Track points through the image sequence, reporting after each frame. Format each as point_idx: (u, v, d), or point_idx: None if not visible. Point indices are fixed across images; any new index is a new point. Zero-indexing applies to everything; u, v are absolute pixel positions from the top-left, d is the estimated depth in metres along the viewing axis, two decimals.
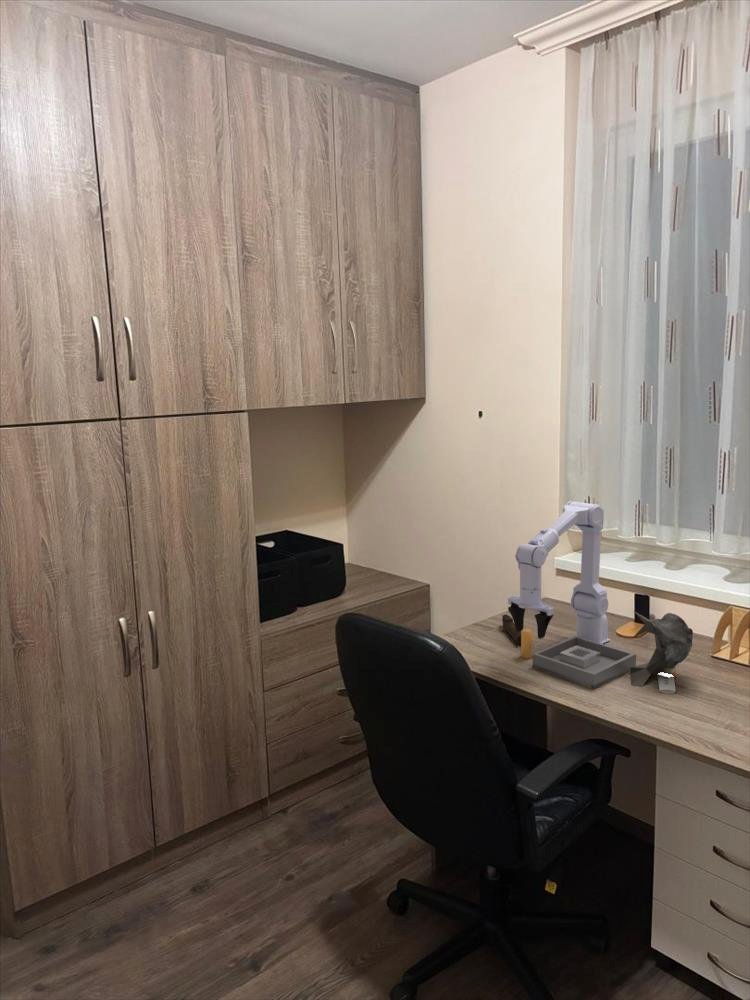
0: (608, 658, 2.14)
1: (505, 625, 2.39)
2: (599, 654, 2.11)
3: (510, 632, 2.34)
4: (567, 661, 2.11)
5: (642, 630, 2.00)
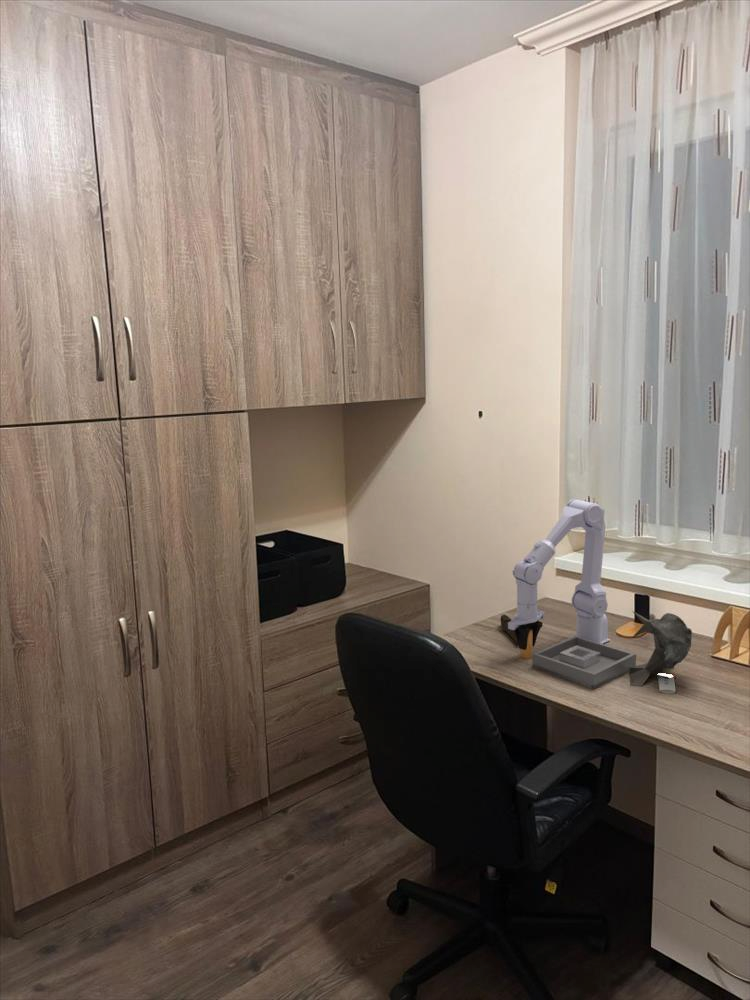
0: (608, 658, 2.14)
1: (504, 625, 2.39)
2: (599, 654, 2.11)
3: (509, 632, 2.34)
4: (567, 661, 2.11)
5: (641, 630, 2.00)
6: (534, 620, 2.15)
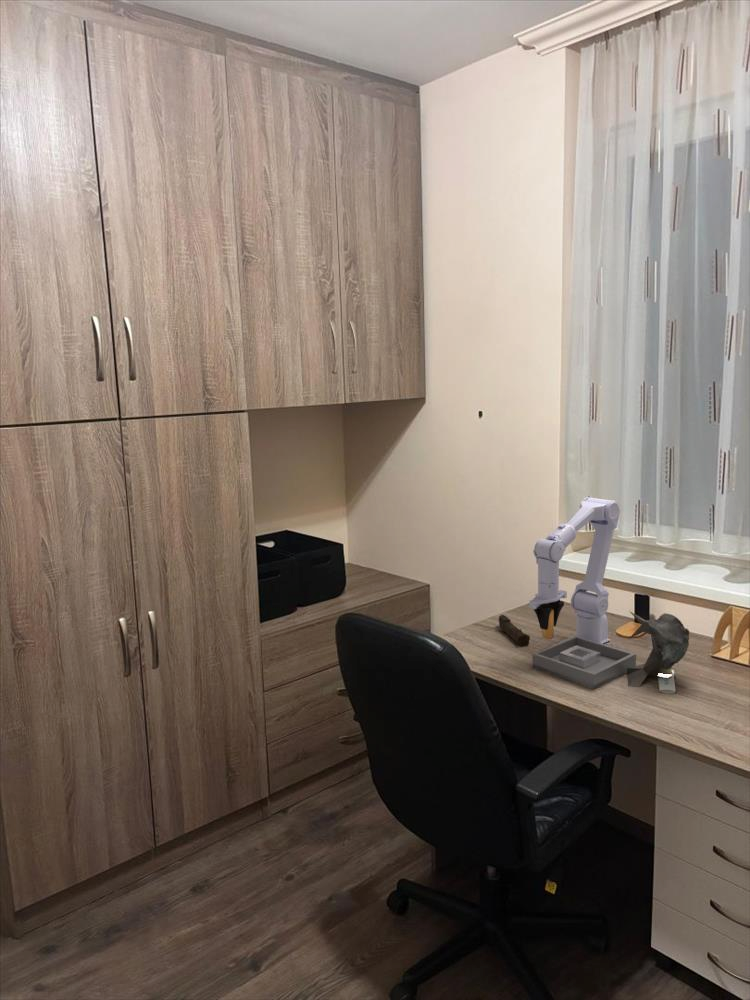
0: (608, 658, 2.14)
1: (503, 625, 2.39)
2: (599, 654, 2.11)
3: (509, 632, 2.34)
4: (567, 661, 2.11)
5: (638, 631, 2.00)
6: (556, 599, 2.11)
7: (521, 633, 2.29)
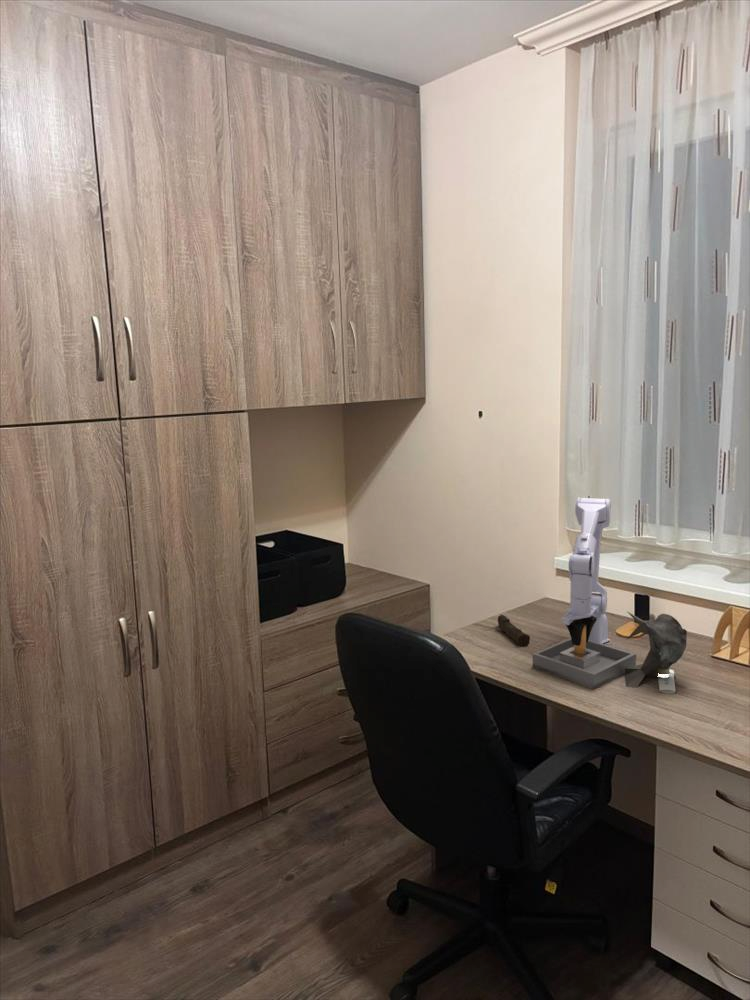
0: (608, 658, 2.14)
1: (502, 625, 2.39)
2: (599, 654, 2.11)
3: (509, 632, 2.34)
4: (567, 661, 2.11)
5: (636, 631, 2.00)
6: (589, 615, 2.07)
7: (521, 633, 2.29)
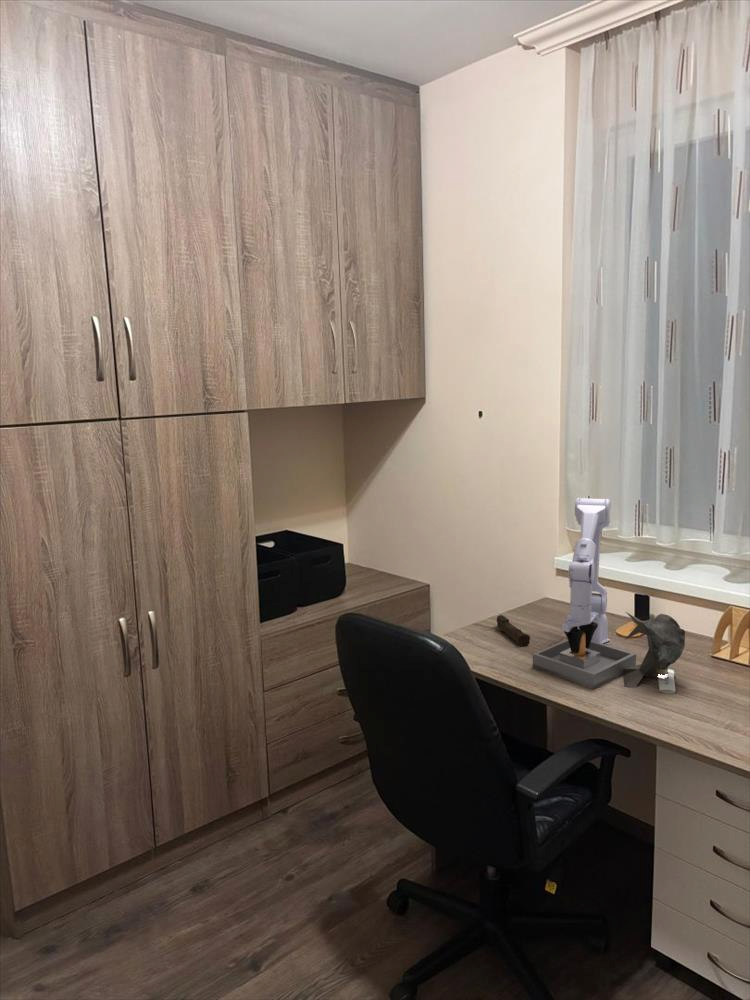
0: (608, 658, 2.14)
1: (501, 626, 2.39)
2: (599, 654, 2.11)
3: (508, 632, 2.34)
4: (567, 661, 2.11)
5: (635, 631, 2.00)
6: (589, 622, 2.08)
7: (521, 633, 2.29)
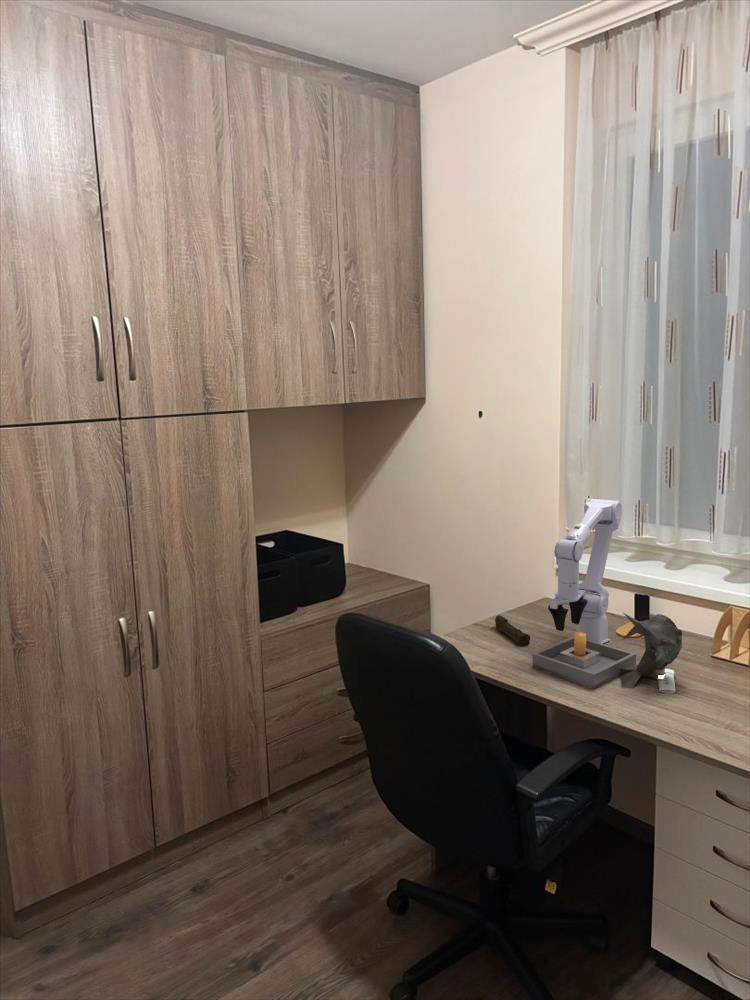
0: (608, 658, 2.14)
1: (500, 626, 2.39)
2: (599, 654, 2.11)
3: (508, 633, 2.34)
4: (567, 661, 2.11)
5: (632, 632, 1.99)
6: (576, 599, 2.11)
7: (521, 633, 2.29)
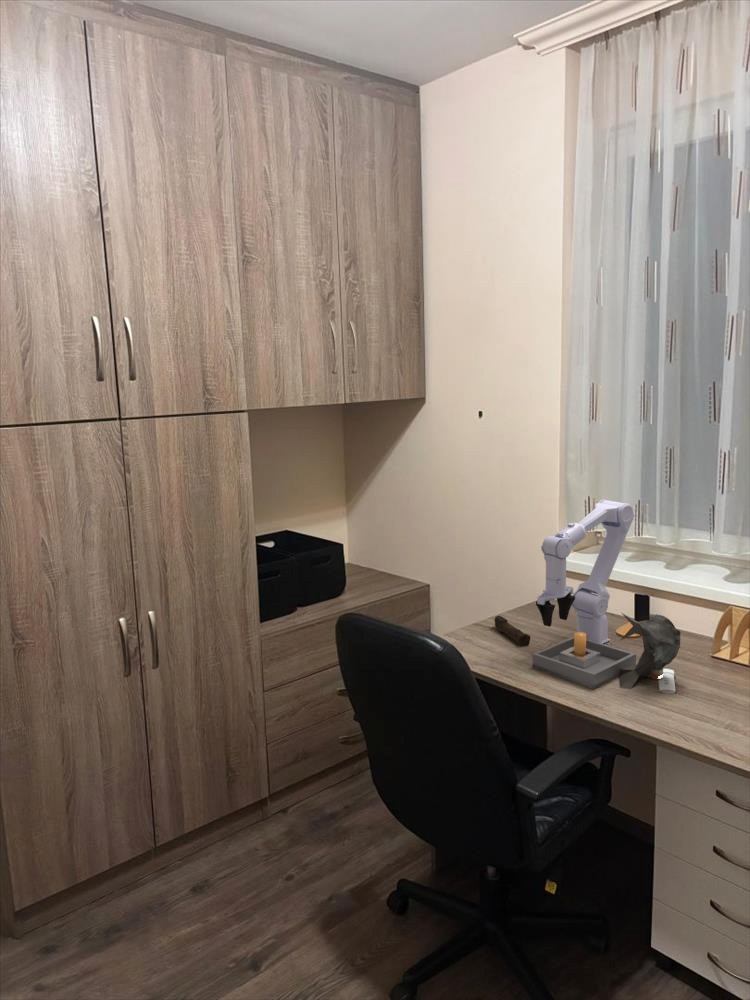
0: (608, 658, 2.14)
1: (500, 626, 2.39)
2: (599, 654, 2.11)
3: (508, 633, 2.34)
4: (567, 661, 2.11)
5: (630, 632, 1.99)
6: (563, 595, 2.16)
7: (521, 633, 2.29)
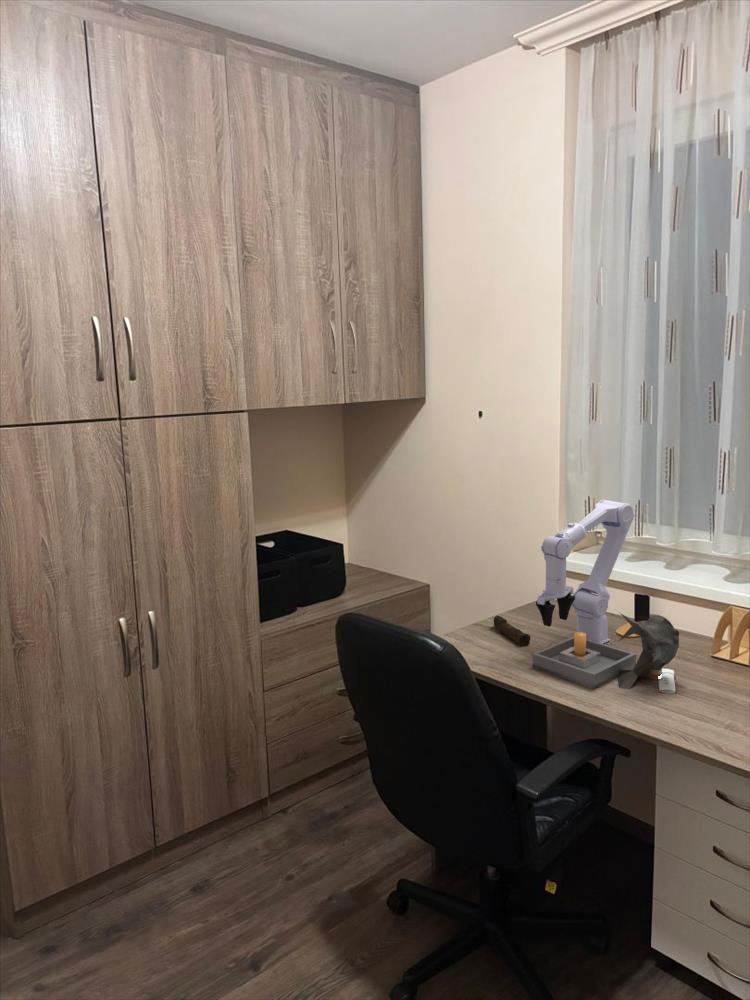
0: (608, 658, 2.14)
1: (499, 626, 2.39)
2: (599, 654, 2.11)
3: (507, 633, 2.34)
4: (567, 661, 2.11)
5: (629, 632, 1.99)
6: (563, 595, 2.16)
7: (521, 633, 2.29)
